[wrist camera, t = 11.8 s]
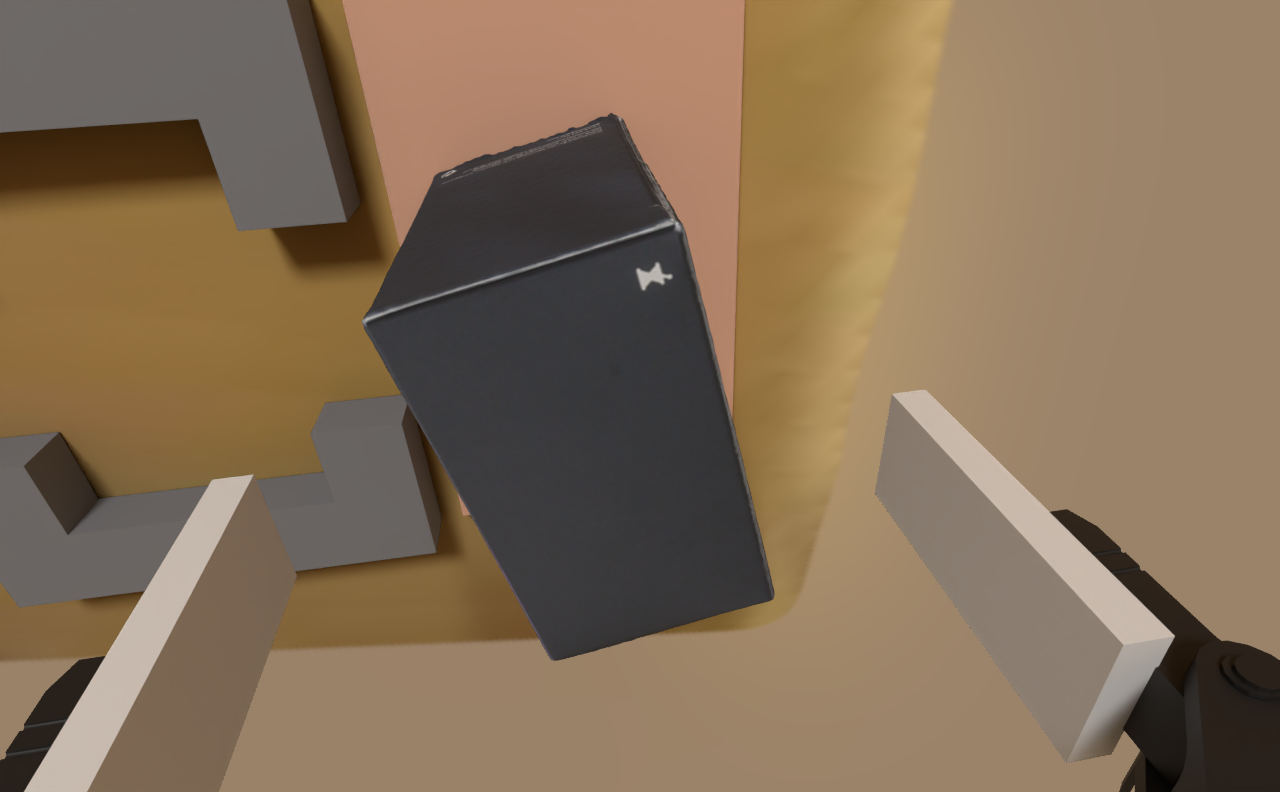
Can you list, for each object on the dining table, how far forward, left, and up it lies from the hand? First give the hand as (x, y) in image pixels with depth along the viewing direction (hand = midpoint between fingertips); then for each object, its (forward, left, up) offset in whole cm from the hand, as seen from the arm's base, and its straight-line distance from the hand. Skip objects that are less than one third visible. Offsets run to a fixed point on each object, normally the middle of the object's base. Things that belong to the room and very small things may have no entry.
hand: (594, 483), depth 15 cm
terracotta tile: (0, 0, -11) cm, 11 cm away
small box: (0, 0, -11) cm, 11 cm away
